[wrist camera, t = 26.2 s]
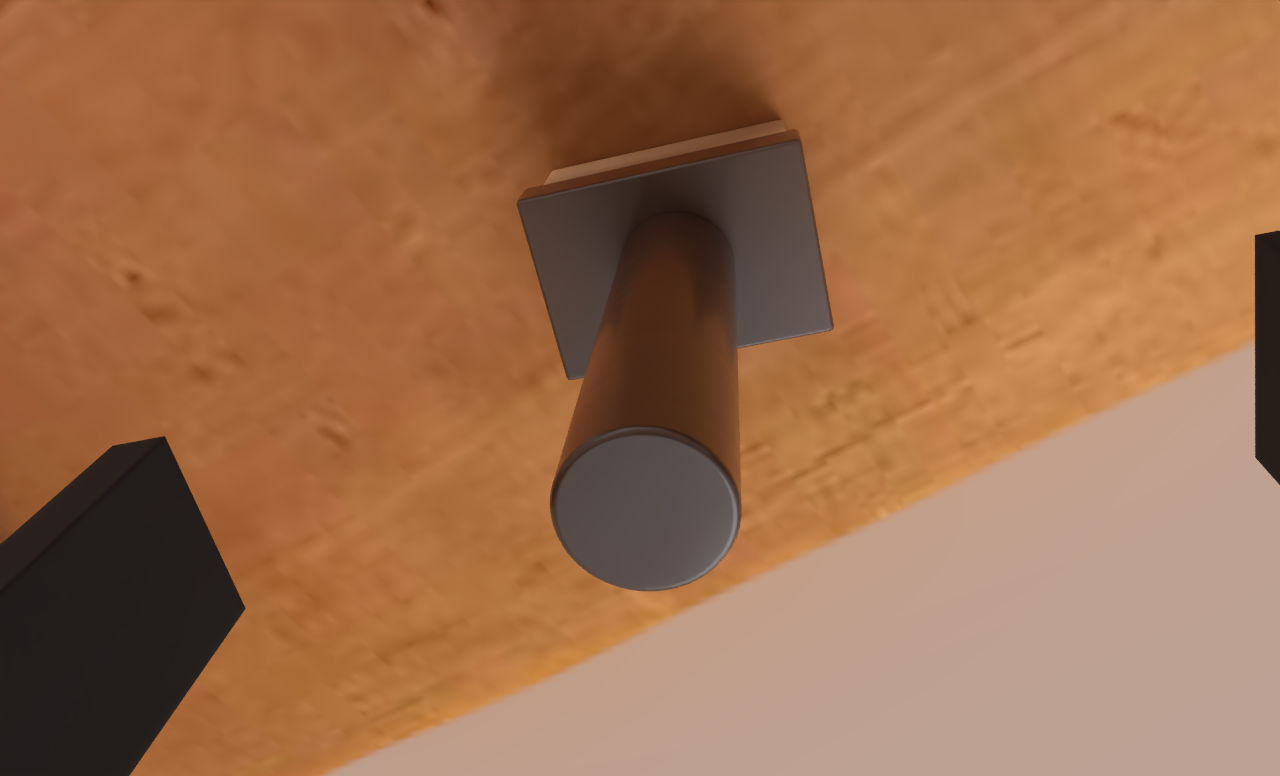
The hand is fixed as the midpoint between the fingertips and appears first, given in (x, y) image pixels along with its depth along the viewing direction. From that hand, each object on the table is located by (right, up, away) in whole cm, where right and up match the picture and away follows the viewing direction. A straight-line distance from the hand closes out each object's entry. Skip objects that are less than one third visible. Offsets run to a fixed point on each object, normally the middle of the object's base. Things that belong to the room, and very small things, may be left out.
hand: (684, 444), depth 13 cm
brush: (0, +4, +10) cm, 11 cm away
